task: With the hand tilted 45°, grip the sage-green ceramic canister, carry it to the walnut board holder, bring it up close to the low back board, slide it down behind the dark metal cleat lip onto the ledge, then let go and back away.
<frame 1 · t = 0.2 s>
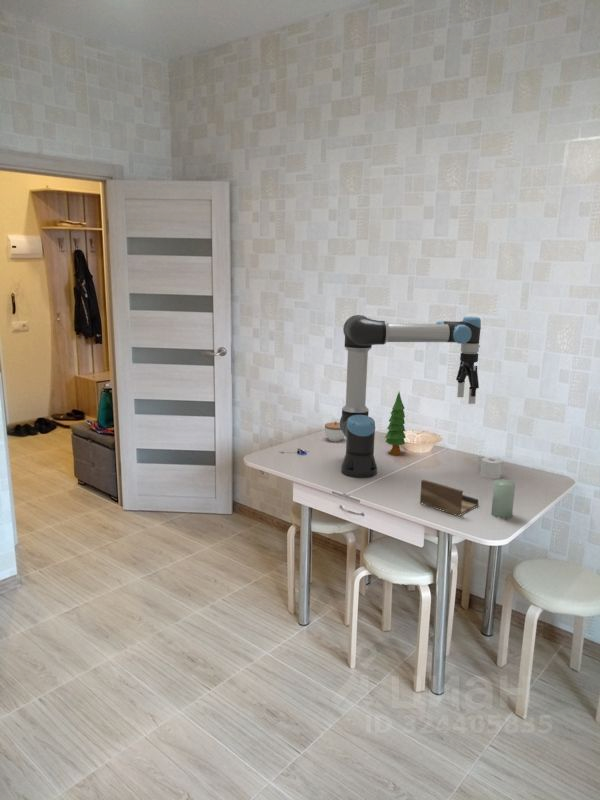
hand: (465, 400, 271), 28 cm above the table, tool pointing down, fingers open, 13 cm apart
canister: (501, 514, 217), on the table
toilet paper: (488, 474, 260), on the table
decorative tree: (394, 453, 287), on the table
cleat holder: (448, 504, 225), on the table
lidded jar: (335, 440, 306), on the table
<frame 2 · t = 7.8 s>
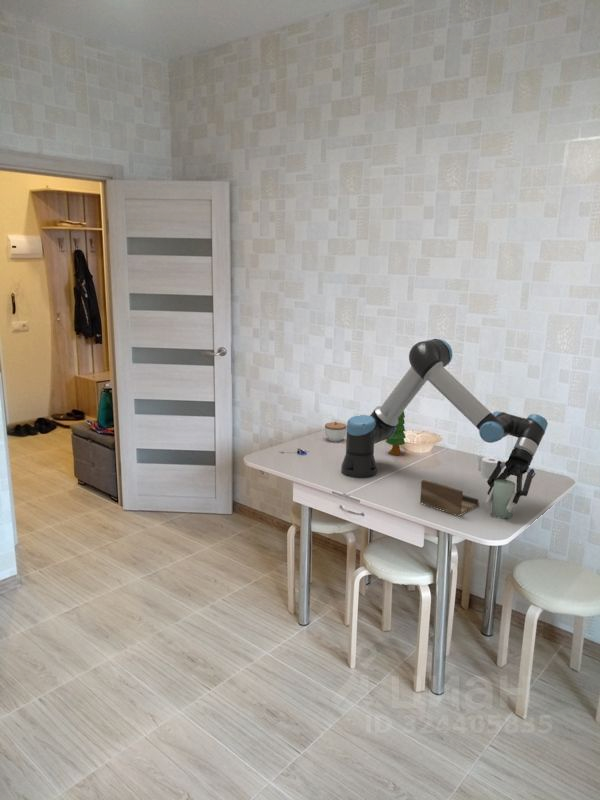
hand: (497, 506, 214), 4 cm above the table, tool tilted 45°, fingers closed on canister, 7 cm apart
canister: (501, 514, 217), on the table, touching gripper
everything else where it was.
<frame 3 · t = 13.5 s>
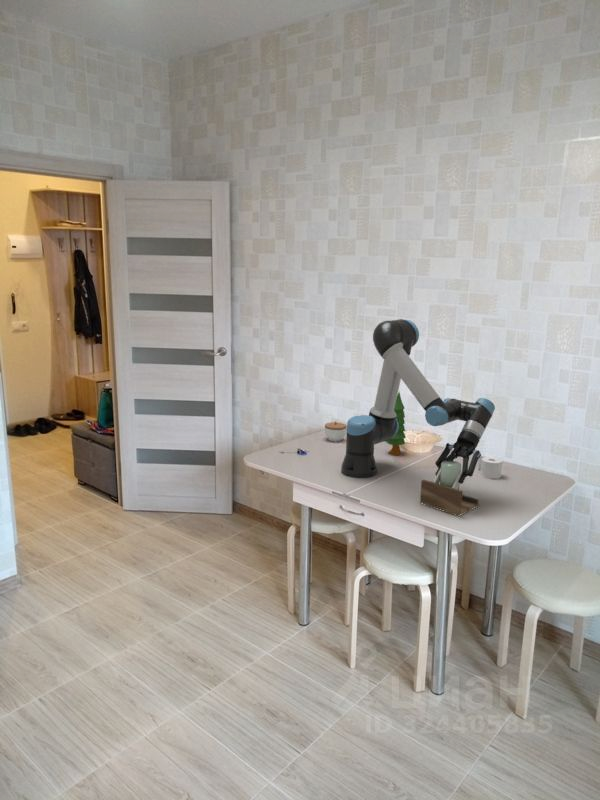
hand: (444, 486, 221), 8 cm above the table, tool tilted 45°, fingers closed on canister, 7 cm apart
canister: (448, 494, 224), point 4 cm above the table, touching gripper
everything else where it was.
when the fingers open (8 cm above the table, at t = 13.5 s): canister drops 3 cm, resting on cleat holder.
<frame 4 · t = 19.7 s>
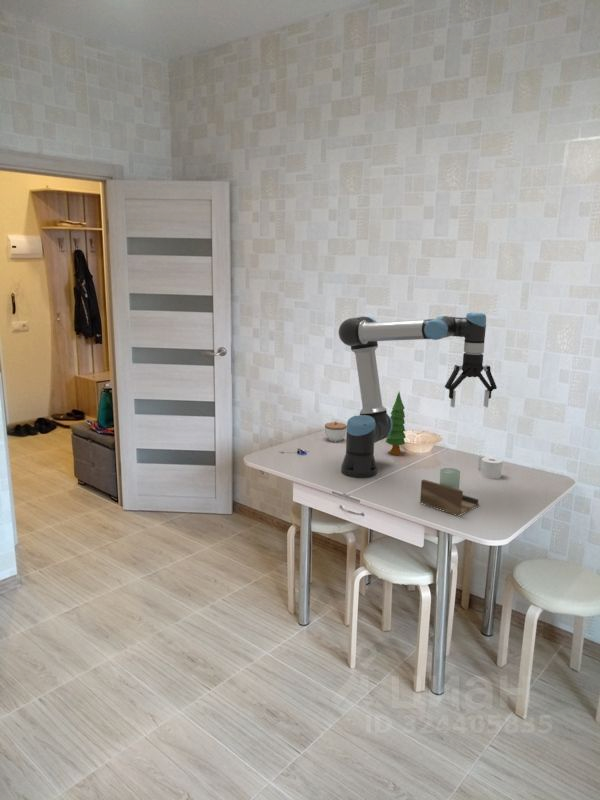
hand: (469, 406, 242), 32 cm above the table, tool pointing down, fingers open, 13 cm apart
canister: (448, 502, 225), point 1 cm above the table, touching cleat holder
everything else where it was.
at the end: canister 0.1 cm off-centre on the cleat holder, point 1.1 cm above the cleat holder's base; canister tilted 1°; the gripper is holding nothing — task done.
